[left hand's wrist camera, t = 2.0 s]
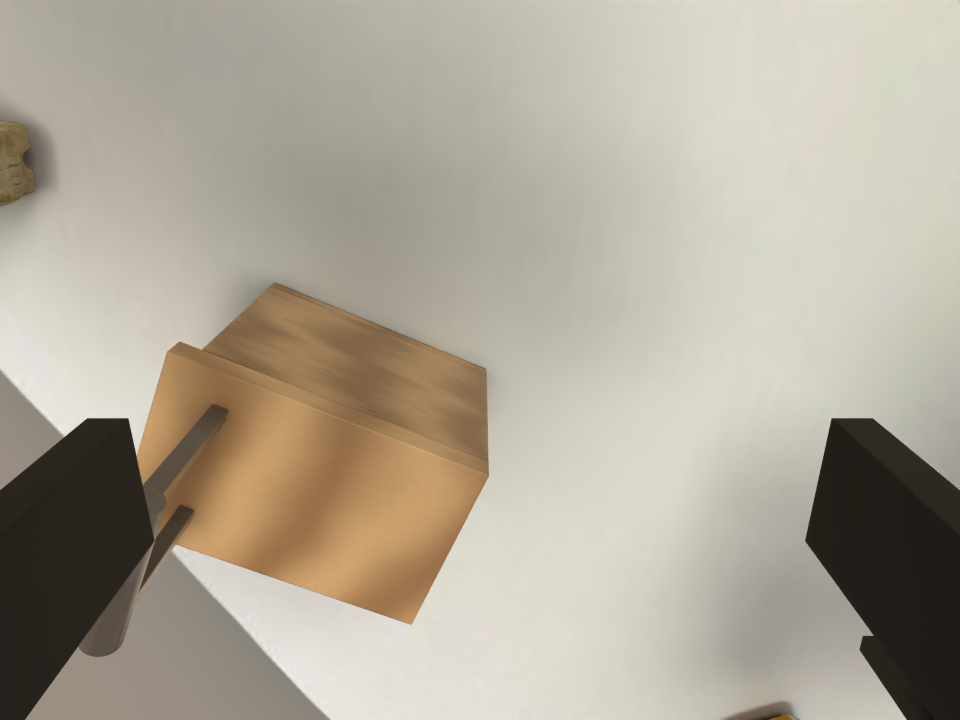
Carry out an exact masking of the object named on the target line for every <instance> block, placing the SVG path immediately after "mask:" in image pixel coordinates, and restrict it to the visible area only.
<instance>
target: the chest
mask: <svg viewBox="0 0 960 720" xmlns="http://www.w3.org/2000/svg"><path fill="white" fill-rule="evenodd" d="M202 350H203V351H205V352H208V353H211V354H213V355H216V356H218V357H221V358H223V359H226V360H229V361H231V362H234V363H236V364H239V365H241V366H244V367H247V368H249V369H252V370H254V371H257V372H259V373H262V374H265V375H267V376H270V377H272V378H275V379H278V380H280V381H283V382H285V383H288V384H290V385H293V386H296V387H298V388H301V389H303V390H306V391H308V392H311V393H314V394H316V395H319V396H321V397H324V398H326V399H329V400H332V401H334V402H337V403H339V404H342V405H344V406H347V407H350V408H352V409H355V410H357V411H360V412H362V413H365V414H368V415H370V416H373V417H375V418H378V419H381V420H383V421H386V422H388V423H391V424H393V425H396V426H399V427H401V428H404V429H406V430H409V431H411V432H414V433H417V434H419V435H422V436H424V437H427V438H429V439H432V440H435V441H437V442H440V443H442V444H445V445H447V446H450V447H453V448H455V449H458V450H460V451H463V452H466V453H468V454H471V455H473V456H476V457H478V458H481V459H484V460H486V461H488V423H487V376H486V369H484V368H481V367H479V366H476V365H474V364H471V363H469V362H467V361H464V360H462V359H459V358H457V357H454V356H452V355H449V354H447V353H445V352H442V351H440V350H437V349H435V348H432V347H430V346H428V345H425V344H423V343H420V342H418V341H415V340H413V339H411V338H408V337H406V336H403V335H401V334H398V333H396V332H393V331H391V330H389V329H386V328H384V327H381V326H379V325H376V324H374V323H372V322H369V321H367V320H364V319H362V318H359V317H357V316H354V315H352V314H350V313H347V312H345V311H342V310H340V309H337V308H335V307H333V306H330V305H328V304H325V303H323V302H320V301H318V300H316V299H313V298H311V297H308V296H306V295H303V294H301V293H298V292H296V291H294V290H291V289H289V288H286V287H284V286H281V285H279V284H277V283H274V284H273V285H272V286H270V287H269V288H268V289H267V290H266V291H265V292H264V293H263V294H262V295H261V296H260V297H259V298H258V299H256V300H255V301H254V302H253V303H252V304H251V305H250V306H249V307H248V308H247V309H246V310H245V311H243V312H242V313H241V314H240V315H239V316H238V317H237V318H236V319H235V320H234V321H233V322H232V323H230V324H229V325H228V326H227V327H226V328H225V329H224V330H223V331H222V332H221V333H220V334H219V335H217V336H216V337H215V338H214V339H213V340H212V341H211V342H210V343H209V344H208V345H207V346H206V347H205V348H203V349H202Z"/></svg>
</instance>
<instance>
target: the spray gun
mask: <svg viewBox="0 0 960 720" xmlns="http://www.w3.org/2000/svg"><path fill="white" fill-rule="evenodd" d="M768 720H799V719H797V718H795V717H794V716H792V715H790V714H786V715H783V716H779V717H775V718H772V719H768Z"/></svg>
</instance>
